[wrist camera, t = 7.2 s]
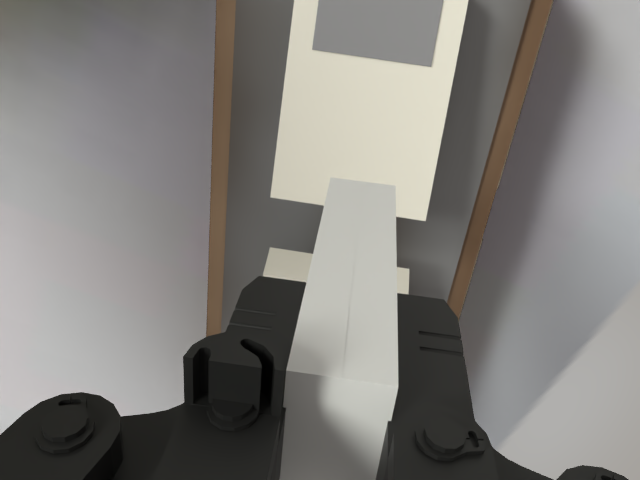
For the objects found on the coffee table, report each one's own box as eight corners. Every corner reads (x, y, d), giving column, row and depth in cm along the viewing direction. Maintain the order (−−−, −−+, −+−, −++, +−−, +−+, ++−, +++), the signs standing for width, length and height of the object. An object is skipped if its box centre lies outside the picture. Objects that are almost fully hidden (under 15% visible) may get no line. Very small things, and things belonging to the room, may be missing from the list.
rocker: (275, 190, 22) (269, 197, 21) (303, -36, 20) (299, -45, 19) (421, 213, 22) (425, 221, 21) (465, -13, 20) (472, -21, 19)
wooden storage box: (225, 416, 41) (196, 507, 35) (253, -91, 26) (209, -92, 19) (400, 445, 41) (402, 542, 34) (535, -53, 25) (582, -40, 19)
